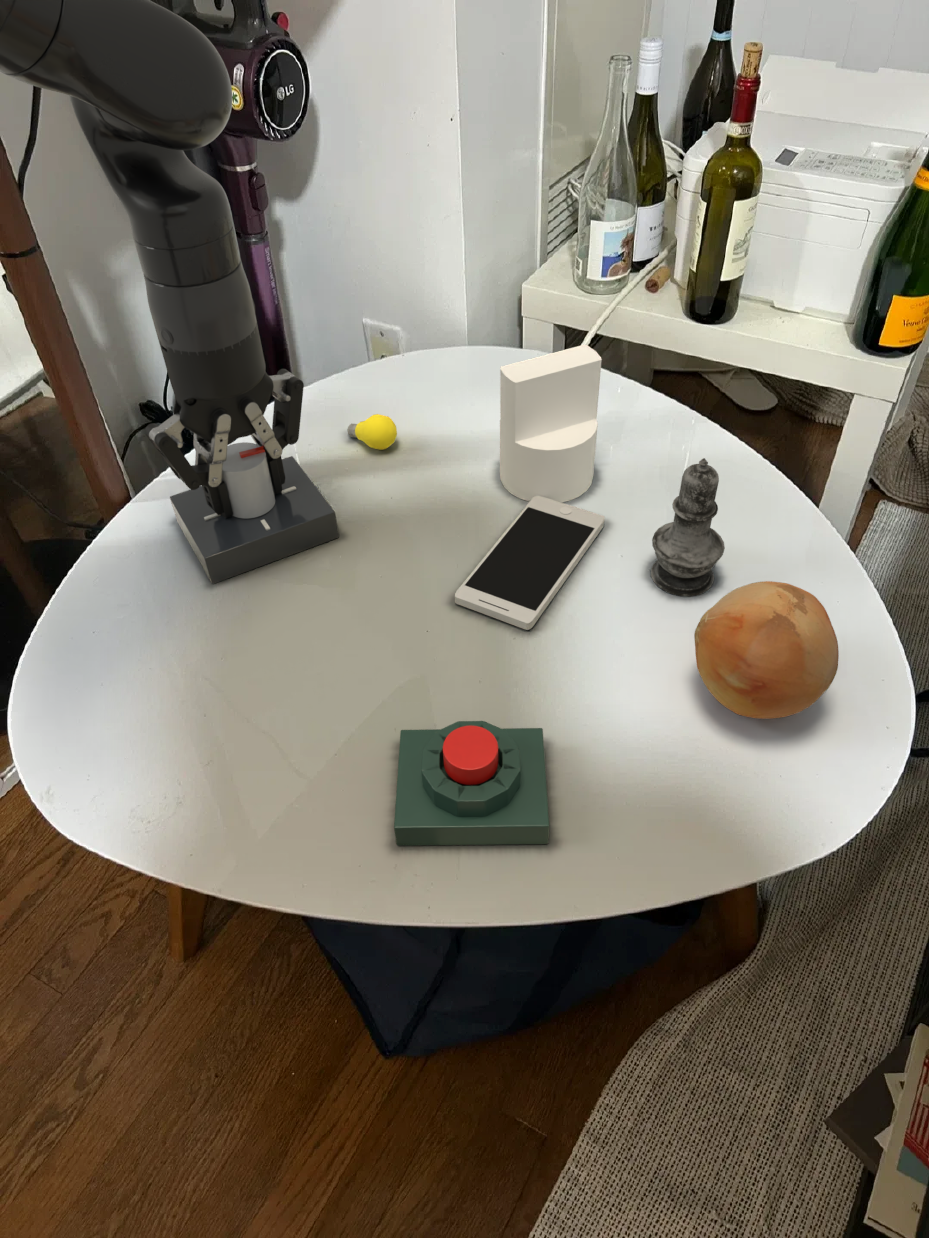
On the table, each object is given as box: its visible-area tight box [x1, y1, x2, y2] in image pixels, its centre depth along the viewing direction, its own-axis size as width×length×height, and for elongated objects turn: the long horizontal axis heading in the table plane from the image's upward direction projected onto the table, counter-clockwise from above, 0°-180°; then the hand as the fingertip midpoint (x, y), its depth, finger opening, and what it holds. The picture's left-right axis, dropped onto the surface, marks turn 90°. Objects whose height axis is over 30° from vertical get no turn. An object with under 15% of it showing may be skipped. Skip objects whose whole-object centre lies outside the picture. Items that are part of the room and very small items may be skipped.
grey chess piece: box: [650, 457, 726, 597], centre depth 74 cm, size 6×6×12 cm
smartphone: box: [454, 495, 606, 631], centre depth 80 cm, size 7×16×1 cm, turn 151°
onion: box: [693, 580, 840, 720], centre depth 66 cm, size 10×10×10 cm
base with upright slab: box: [499, 344, 603, 503], centre depth 85 cm, size 9×9×12 cm
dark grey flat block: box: [169, 455, 340, 585], centre depth 83 cm, size 12×10×3 cm
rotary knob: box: [222, 441, 276, 519], centre depth 80 cm, size 4×4×5 cm
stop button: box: [443, 726, 498, 785], centre depth 60 cm, size 4×4×2 cm
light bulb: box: [346, 413, 398, 451], centre depth 93 cm, size 3×6×4 cm, turn 57°
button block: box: [393, 720, 550, 847], centre depth 62 cm, size 10×8×4 cm
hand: (248, 500), depth 82 cm, fingers closed on rotary knob, 4 cm apart
